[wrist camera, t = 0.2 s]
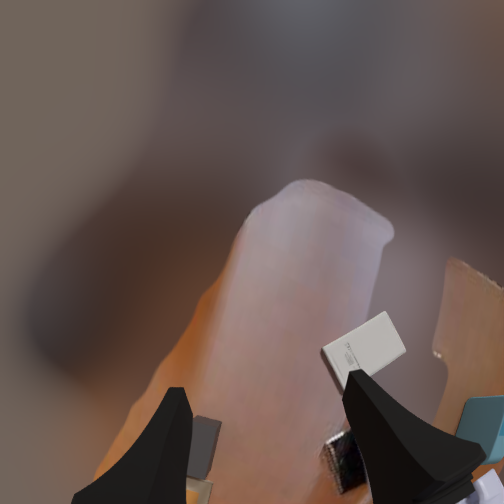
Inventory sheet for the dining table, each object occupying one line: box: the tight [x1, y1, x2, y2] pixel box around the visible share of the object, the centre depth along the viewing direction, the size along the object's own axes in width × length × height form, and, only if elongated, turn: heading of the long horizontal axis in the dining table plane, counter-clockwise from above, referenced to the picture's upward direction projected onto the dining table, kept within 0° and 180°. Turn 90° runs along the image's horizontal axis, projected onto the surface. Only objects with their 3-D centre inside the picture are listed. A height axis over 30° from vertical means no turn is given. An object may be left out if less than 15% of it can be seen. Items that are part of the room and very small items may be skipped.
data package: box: [455, 395, 504, 465], centre depth 26 cm, size 12×4×12 cm, turn 158°
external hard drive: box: [322, 311, 406, 391], centre depth 40 cm, size 2×8×12 cm
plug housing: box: [187, 416, 222, 480], centre depth 32 cm, size 9×4×5 cm, turn 168°
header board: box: [186, 475, 213, 504], centre depth 28 cm, size 14×10×4 cm
